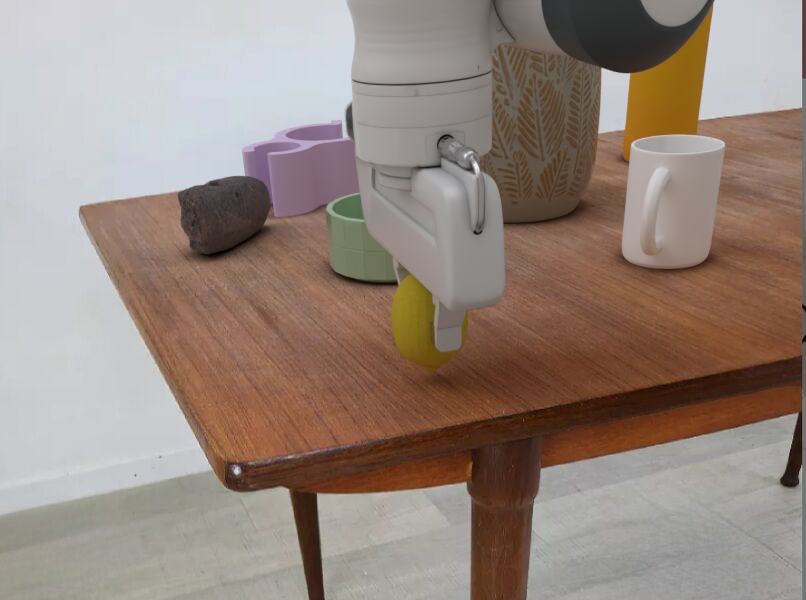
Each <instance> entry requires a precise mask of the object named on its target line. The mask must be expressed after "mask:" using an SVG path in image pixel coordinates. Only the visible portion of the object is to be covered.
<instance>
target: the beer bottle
mask: <svg viewBox="0 0 806 600" xmlns="http://www.w3.org/2000/svg"><path fill="white" fill-rule="evenodd" d="M713 12H714V4H713V5H712V7H711V8H710V10H709V12H708V14H707V16H706V17H705V19H704V20H703V22H702V23H701V25H700V26H699V28H698V29H697V30H696V32H695V33H694V34H693V35H692V36H691V38H690V39H689V40H688V41H687V42H686V43H685V45H684V46H683V47H682V48H681V49H679V50H678V51H677V52H676V53H675V54H674V55H672V56H671V57H670V58H669V59H667V60H666V61H664V62H663V63H661V64H659V65H657V66H655V67H653V68H651V69H648V70H645V71H642V72H637V73H629V81H628V82H629V83H628V92H627V104H626V105H627V106H626V116H625V126H624V134H623V141H622V156H623V159H624V160H625V162H627V163H629V161H630V150H631V144H632V143H633V142H634V141H636V140H638V139H642V138H646V137H652V136H661V135H697V136H698V126H699V118H700V110H701V104H702V103H701V102H702V96H703V86H704V79H705V70H706V63H707V56H708V49H709V42H710V41H709V40H710V32H711V26H712V19H713Z"/></svg>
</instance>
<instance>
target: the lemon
mask: <svg viewBox="0 0 806 600" xmlns="http://www.w3.org/2000/svg"><path fill="white" fill-rule="evenodd" d="M390 316H391V318H390V323H391V330H392V334H393V335H392V336H393V339H394V342H395V345H396V347H397V349H398V350H399V352H400V353H401V354H402V355H403V357H405V359H407V360H408V361H409V362H411V363H413V364H414V365H416V366H419V367H422V368H423V369H424V370H425V371H426V372H427V373H434V372H436V371H437V370H438V369H439V368H440V367H441V366H443V365H445V364H447V363H449V362H451V361H452V360H453V359H454V358H456V357H457V356H458V354H459V353H460V352H461V350H462V348H463V346H464V344H465V342H466V338H467V336H468V332H469V331H468V329H469V311H467V312H466V315H465V318H464V321H463V324H462V344H461V347H460V348H459V349H458V350H455V351H449V352H443V353H442V352H440V351H438V350H437V348H436V347H435V346H434V345H433V344H432V342H431V331H430V322H433V321H434V316H435V305H434V304H433V300H432V293H431V292H430V291H429V290H428V289H426V288H425V287H424V286H423V285H422V284H421V283H420V282H419V281H418V280H417V279H416V278H415V277H414V276H413V275H412V274H410V275H408V276H407V277H406V278H405V279H404V280H403V281H402V282H401V284H400V285H398V287H397V289H396V291H395V294H394V296H393V300H392V306H391V315H390Z"/></svg>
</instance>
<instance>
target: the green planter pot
mask: <svg viewBox="0 0 806 600" xmlns="http://www.w3.org/2000/svg"><path fill="white" fill-rule="evenodd" d="M325 219H326V220H325V221H326V231H327V232H326V233H327V245H328V255H329V256H328V257H329V266H330V267H331V269H332V270H333V271H334V272H335V273H336V274H339V275H341V276H344V277H347V278H351V279H354V280H358V281H363V282H367V283H368V282H370V283H398V281H397V278H396V274H395V270H394V266H393V256H392V255H391V254H390V253H389V252H388V251H387V250H386V249H385V248H384V247H382V246H381V245H380V244H379V243H378V242H377V241H376V240H375V239H374V238H373V237H372V236H371V235H370V234H369V231H368V229H367V226H366V223H365V219H364V215H363V210H362V204H361V197H360V193H354V194H350V195H347V196H343V197H340V198H337V199H336V200H334V201H332V202H331V203H328V204H326V207H325Z"/></svg>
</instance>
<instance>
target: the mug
mask: <svg viewBox="0 0 806 600" xmlns="http://www.w3.org/2000/svg"><path fill="white" fill-rule="evenodd" d="M725 151H726V143H725V142H724V141H723V140H721V139H720V138H715V137H711V136H707V135H706V136H705V135H698V134H697V135H661V136H652V137H646V138H642V139H638V140H636V141H634V142H633V143H632V144H631V150H630V161H629V162H628V171H627V173H628V174H627V185H626V193H625V205H624V216H623V227H622V238H621V253H622V256H623V258H624V259H625V260H626V261H627V262H628V263H630V264H632V265H635V266H639V267H643V268H647V269H656V270H678V269H680V270H681V269H686V268H687V269H688V268H692V267H695V266H698V265H700V264H701V263H704V261H705V260H706V259H707V258H708V256H709V254H710V251H711V245H712V239H713V234H714V227H715V226H714V225H715V219H716V212H717V205H718V199H719V193H720V185H721V178H722V172H723V165H724V160H725V159H724V158H725Z"/></svg>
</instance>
